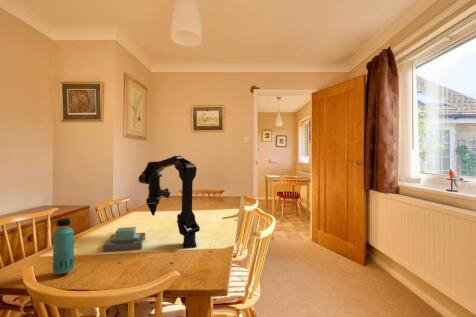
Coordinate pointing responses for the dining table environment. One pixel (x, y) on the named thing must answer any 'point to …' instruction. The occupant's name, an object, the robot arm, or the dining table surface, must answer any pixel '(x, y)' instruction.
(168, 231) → the dining table surface
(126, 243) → the stand
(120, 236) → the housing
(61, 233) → the beverage bottle
